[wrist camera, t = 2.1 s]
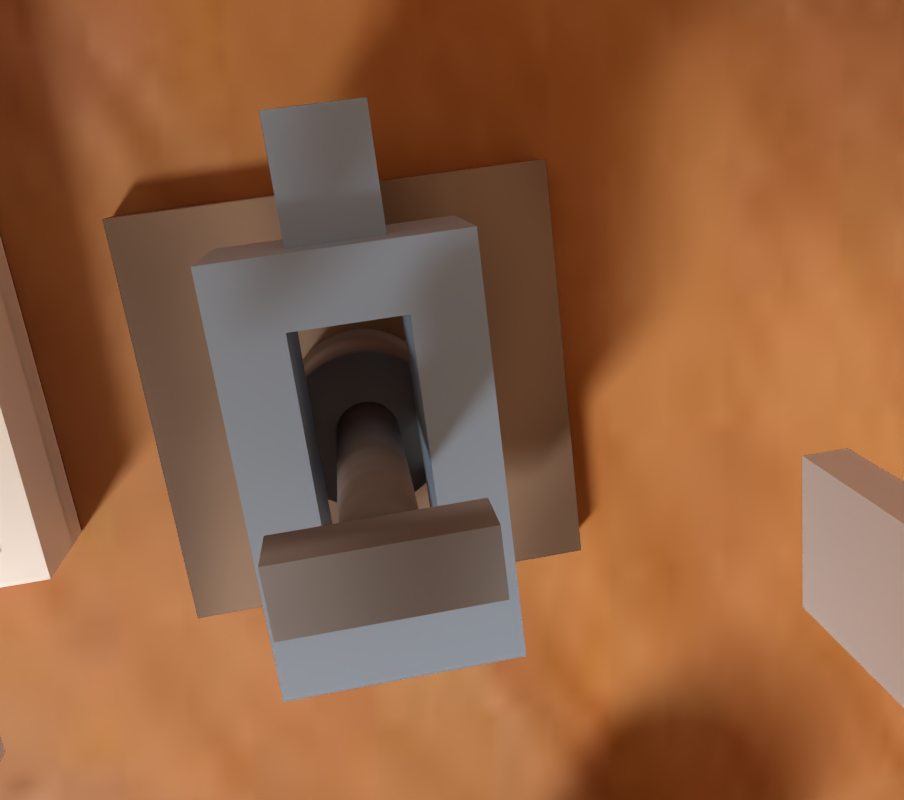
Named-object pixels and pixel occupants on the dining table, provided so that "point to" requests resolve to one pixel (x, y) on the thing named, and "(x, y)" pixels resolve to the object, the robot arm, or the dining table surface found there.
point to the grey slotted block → (287, 397)
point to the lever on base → (359, 418)
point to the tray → (28, 459)
